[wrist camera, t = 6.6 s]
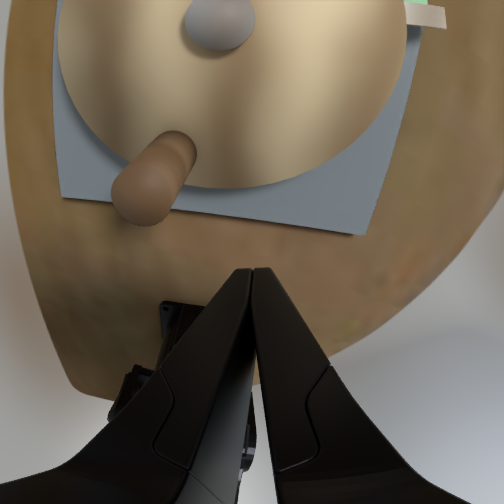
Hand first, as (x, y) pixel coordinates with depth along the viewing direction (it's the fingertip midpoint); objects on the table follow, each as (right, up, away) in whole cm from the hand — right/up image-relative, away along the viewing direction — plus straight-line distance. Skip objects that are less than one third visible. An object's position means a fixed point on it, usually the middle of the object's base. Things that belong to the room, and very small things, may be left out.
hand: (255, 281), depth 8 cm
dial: (0, +12, +5) cm, 13 cm away
